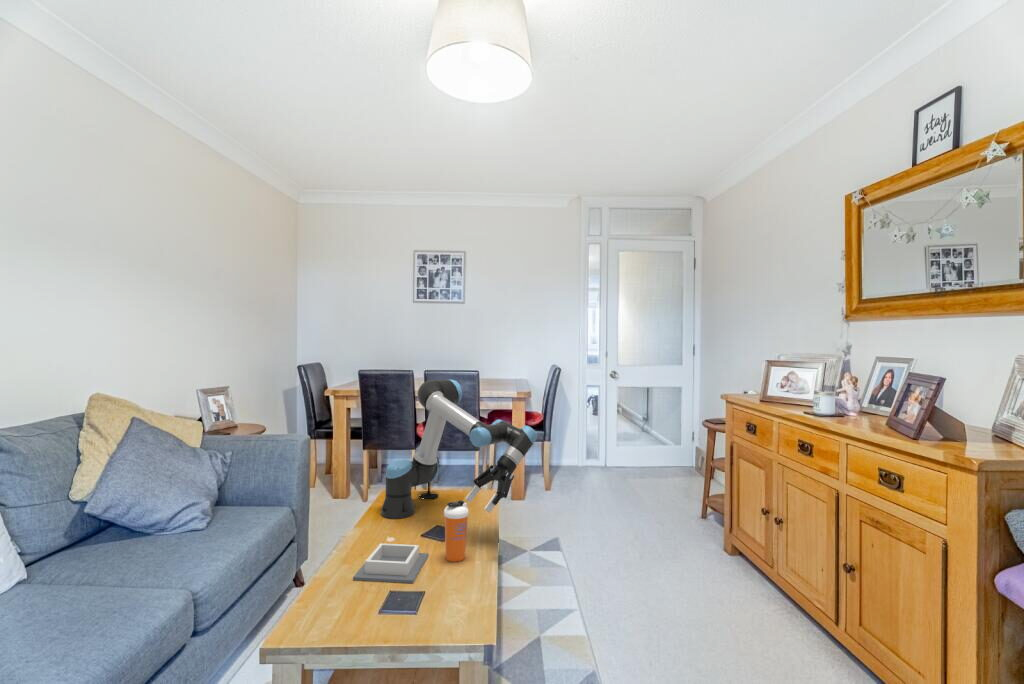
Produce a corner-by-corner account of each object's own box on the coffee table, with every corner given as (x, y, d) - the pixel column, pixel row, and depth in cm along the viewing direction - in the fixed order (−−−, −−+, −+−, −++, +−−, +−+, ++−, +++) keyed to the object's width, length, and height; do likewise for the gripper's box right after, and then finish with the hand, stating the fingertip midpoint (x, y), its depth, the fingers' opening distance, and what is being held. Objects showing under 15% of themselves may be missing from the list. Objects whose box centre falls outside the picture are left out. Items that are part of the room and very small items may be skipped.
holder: (375, 553, 171) (375, 539, 171) (428, 556, 169) (428, 542, 169) (353, 580, 151) (353, 564, 151) (413, 583, 149) (413, 567, 149)
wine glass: (416, 494, 240) (417, 456, 240) (436, 492, 244) (436, 454, 245) (420, 501, 230) (421, 460, 231) (441, 498, 235) (441, 459, 235)
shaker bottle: (438, 557, 168) (439, 502, 169) (456, 550, 175) (457, 497, 175) (453, 565, 162) (455, 508, 163) (472, 557, 169) (473, 502, 169)
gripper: (534, 473, 174) (501, 521, 165) (497, 459, 194) (466, 502, 185) (523, 460, 171) (489, 509, 162) (487, 448, 191) (454, 491, 182)
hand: (476, 505), depth 173 cm, fingers open, 13 cm apart
